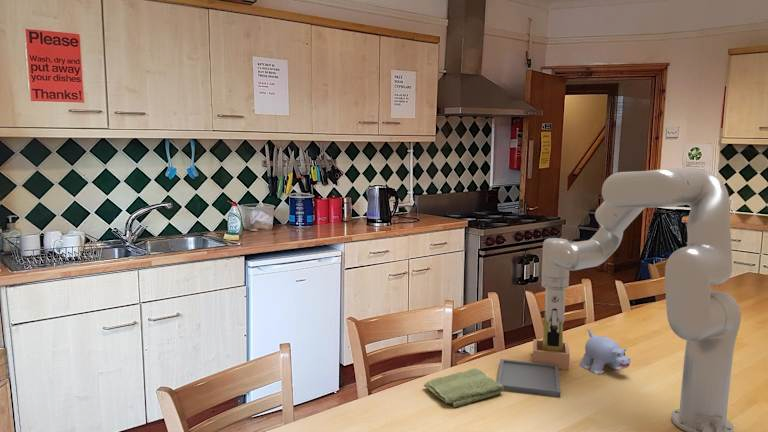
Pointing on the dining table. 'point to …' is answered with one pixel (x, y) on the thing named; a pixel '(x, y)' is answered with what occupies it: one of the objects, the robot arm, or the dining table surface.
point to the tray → (529, 377)
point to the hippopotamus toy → (603, 354)
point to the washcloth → (464, 387)
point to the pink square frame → (551, 355)
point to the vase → (546, 330)
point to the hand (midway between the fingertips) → (552, 341)
